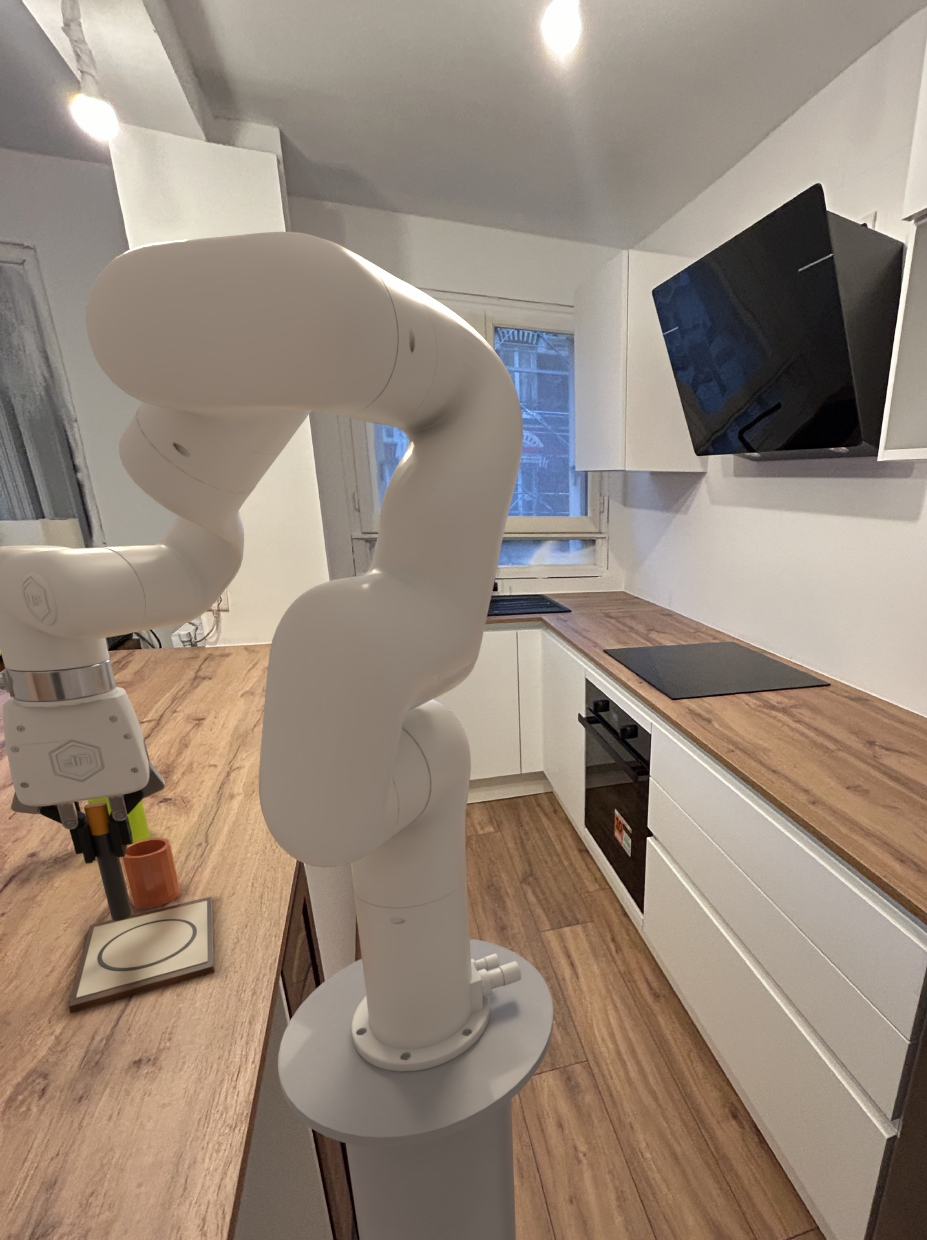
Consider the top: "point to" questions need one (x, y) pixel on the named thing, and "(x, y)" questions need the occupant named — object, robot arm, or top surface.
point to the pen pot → (150, 873)
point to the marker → (108, 861)
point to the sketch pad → (145, 953)
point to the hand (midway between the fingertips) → (107, 853)
